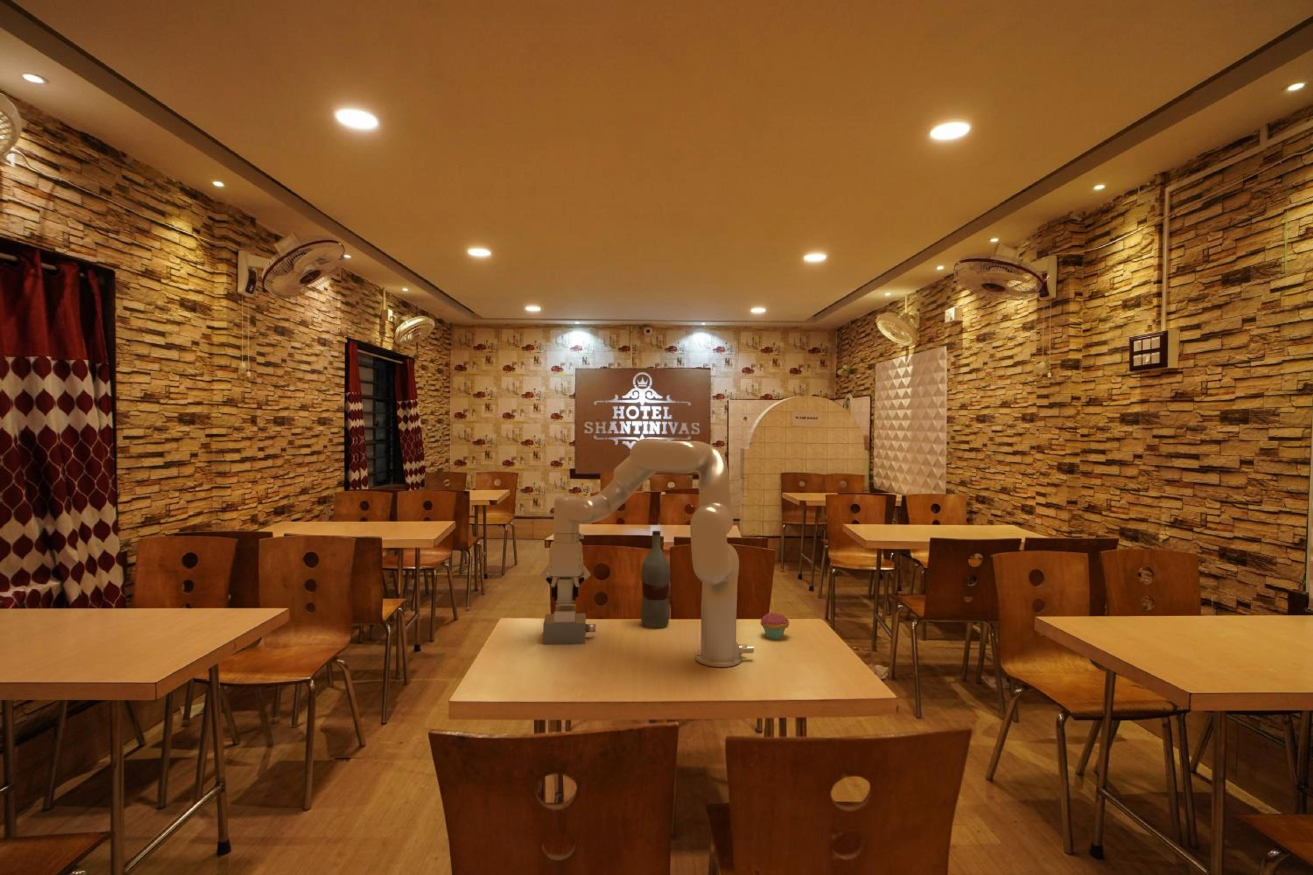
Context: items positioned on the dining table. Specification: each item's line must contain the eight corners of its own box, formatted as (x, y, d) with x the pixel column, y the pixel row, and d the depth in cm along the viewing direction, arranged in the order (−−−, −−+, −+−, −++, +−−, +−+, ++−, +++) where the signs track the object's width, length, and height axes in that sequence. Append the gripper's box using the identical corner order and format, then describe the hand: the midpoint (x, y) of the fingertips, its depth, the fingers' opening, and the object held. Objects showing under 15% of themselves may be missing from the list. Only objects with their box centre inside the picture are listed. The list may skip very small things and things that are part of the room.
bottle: (637, 628, 197) (638, 532, 197) (644, 619, 206) (645, 528, 206) (666, 630, 195) (667, 534, 195) (672, 622, 204) (673, 529, 204)
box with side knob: (595, 630, 194) (595, 601, 194) (595, 643, 182) (596, 612, 182) (546, 631, 192) (546, 602, 192) (543, 644, 180) (543, 613, 180)
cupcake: (755, 633, 193) (756, 594, 193) (780, 631, 196) (780, 593, 196) (768, 642, 185) (769, 601, 185) (794, 640, 187) (794, 600, 187)
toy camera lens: (573, 599, 189) (574, 573, 189) (573, 604, 184) (573, 577, 184) (556, 599, 188) (557, 573, 188) (555, 604, 183) (556, 577, 183)
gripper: (595, 536, 190) (593, 596, 190) (538, 535, 189) (536, 596, 189) (595, 540, 183) (593, 602, 183) (536, 540, 181) (534, 602, 181)
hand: (565, 598), depth 186 cm, fingers closed on toy camera lens, 5 cm apart
